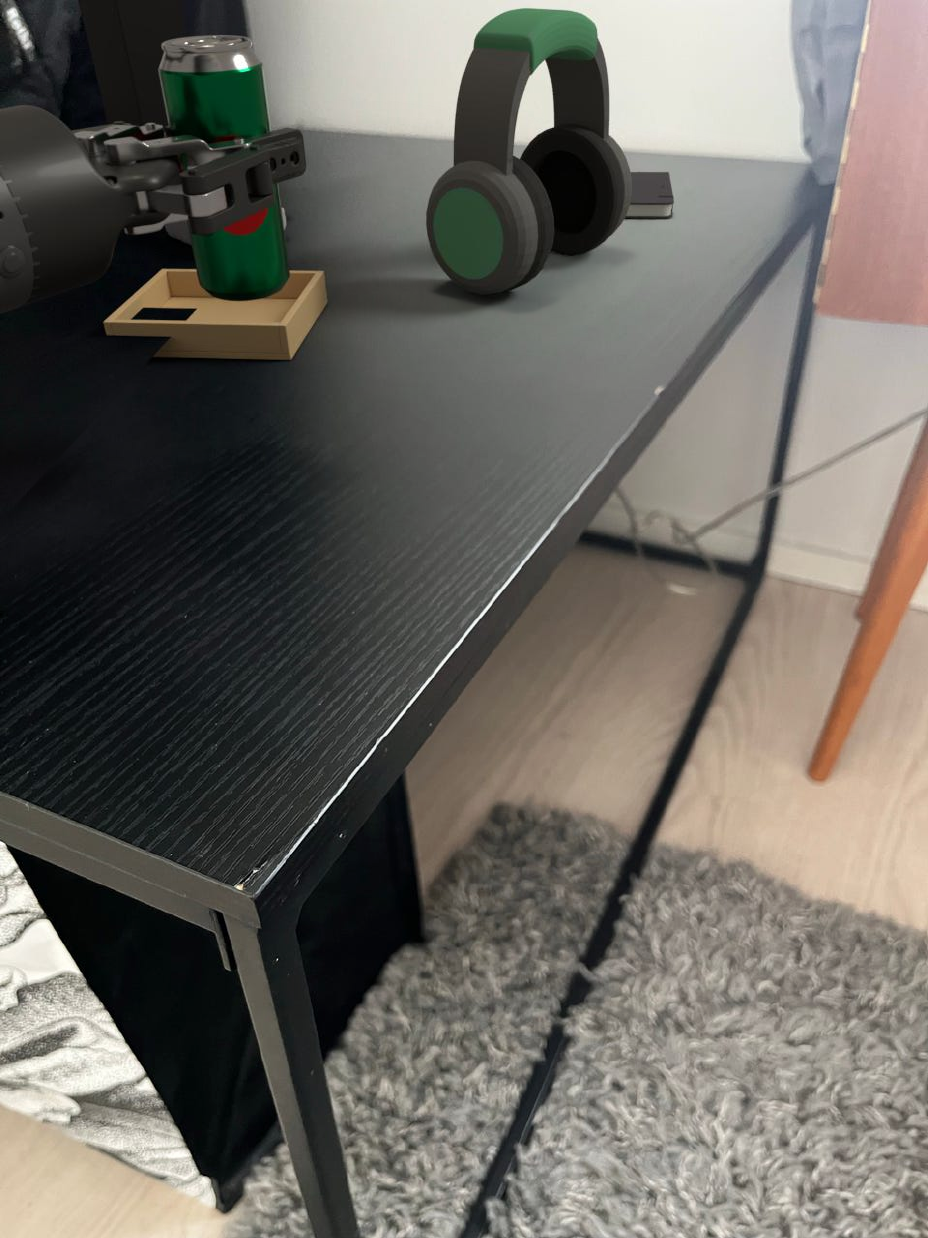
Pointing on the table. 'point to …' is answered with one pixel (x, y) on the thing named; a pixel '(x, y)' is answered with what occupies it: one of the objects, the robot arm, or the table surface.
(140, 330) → the tray
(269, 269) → the soda can
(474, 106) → the headphones
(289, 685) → the table surface
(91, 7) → the tall black block
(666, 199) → the notebook
